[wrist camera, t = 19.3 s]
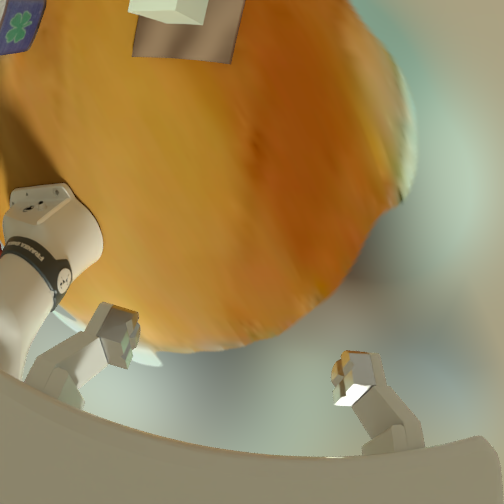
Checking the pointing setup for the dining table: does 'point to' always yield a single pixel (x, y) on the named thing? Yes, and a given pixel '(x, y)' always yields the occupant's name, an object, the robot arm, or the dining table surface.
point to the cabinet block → (171, 10)
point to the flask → (19, 24)
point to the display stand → (192, 35)
